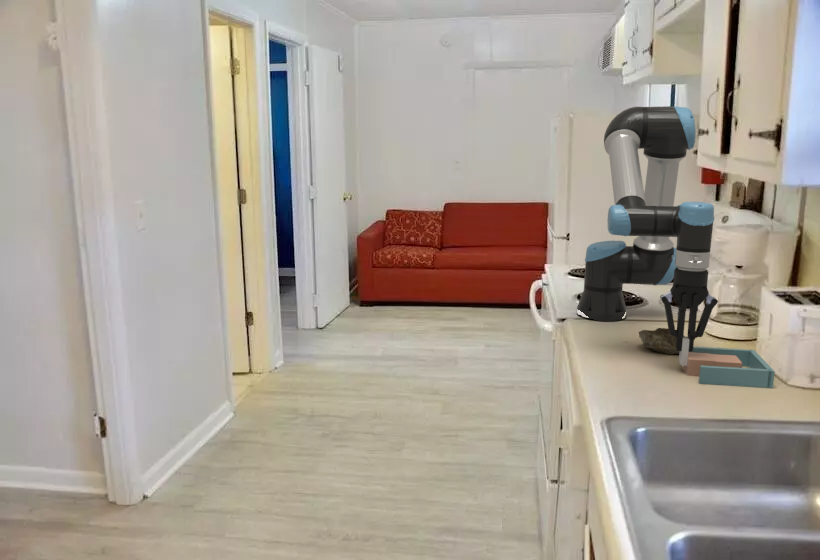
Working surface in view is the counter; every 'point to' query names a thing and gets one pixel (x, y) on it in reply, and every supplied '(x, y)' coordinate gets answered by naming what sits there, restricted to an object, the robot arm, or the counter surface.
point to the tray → (737, 369)
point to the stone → (659, 340)
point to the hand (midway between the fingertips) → (682, 363)
